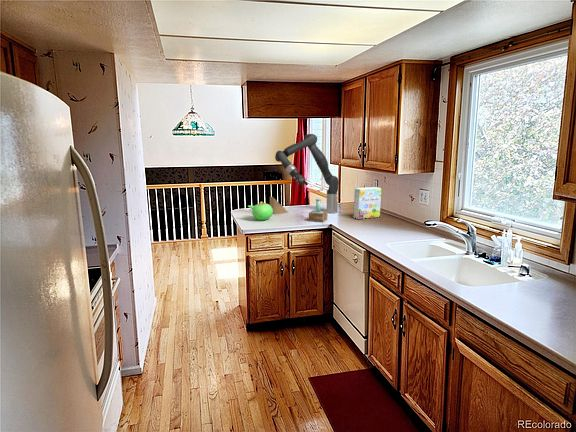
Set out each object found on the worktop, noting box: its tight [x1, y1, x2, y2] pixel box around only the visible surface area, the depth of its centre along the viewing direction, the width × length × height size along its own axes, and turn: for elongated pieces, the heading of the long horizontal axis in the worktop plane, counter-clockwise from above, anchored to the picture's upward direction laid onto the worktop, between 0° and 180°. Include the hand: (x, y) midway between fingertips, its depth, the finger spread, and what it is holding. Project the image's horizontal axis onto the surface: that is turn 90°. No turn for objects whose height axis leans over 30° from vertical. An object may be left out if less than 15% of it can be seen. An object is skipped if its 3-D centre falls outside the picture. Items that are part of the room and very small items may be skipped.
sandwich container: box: [269, 196, 289, 215], centre depth 357 cm, size 9×15×15 cm, turn 116°
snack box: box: [352, 186, 383, 220], centre depth 331 cm, size 22×9×26 cm, turn 112°
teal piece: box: [312, 198, 325, 213], centre depth 323 cm, size 8×8×12 cm
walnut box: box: [308, 209, 329, 223], centre depth 325 cm, size 12×12×7 cm
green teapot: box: [247, 201, 274, 221], centre depth 327 cm, size 18×17×15 cm
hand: (305, 185), depth 324 cm, fingers open, 8 cm apart
